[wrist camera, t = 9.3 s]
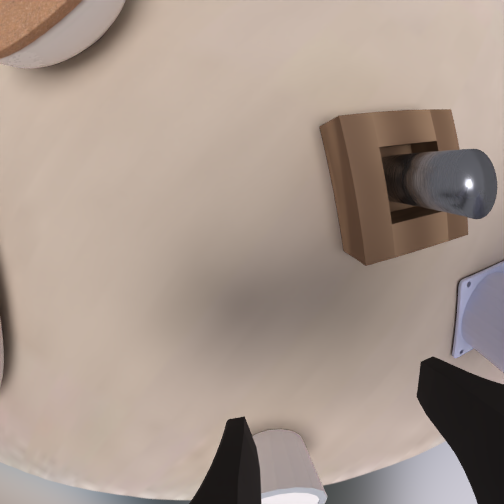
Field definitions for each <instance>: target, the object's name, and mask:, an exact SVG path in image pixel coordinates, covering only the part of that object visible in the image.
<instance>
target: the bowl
mask: <svg viewBox="0 0 504 504" xmlns="http://www.w3.org/2000/svg"><path fill="white" fill-rule="evenodd" d="M3 367H4V347H3V335H2V326H1V318H0V387H1V382H2V377H3Z"/></svg>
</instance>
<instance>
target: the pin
mask: <svg viewBox="0 0 504 504" xmlns="http://www.w3.org/2000/svg"><path fill="white" fill-rule="evenodd" d="M381 159H382V164H383V169H384V175H385V181H386V187H387V193H388V200H389V201H391V202H396V203H402V204H407V205H412V206H418V207H423V208H428V209H433V210H437V211H442V212H447V213H451V214H456V215H460V216H465V217H469V218H473V219H481V218H483V217H485V216H486V215H487V214H488V213H489V212H490V211H491V209H492V207H493V205H494V202H495V199H496V194H497V178H496V173H495V169H494V167H493V164H492V162H491V160H490V159H489V158H488V156H487V155H486V154H485V153H484V152H482V151H481V150H478V149H462V150H446V151H433V152H421V153H410V154H400V155H390V156H385V157H383V158H381Z"/></svg>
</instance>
